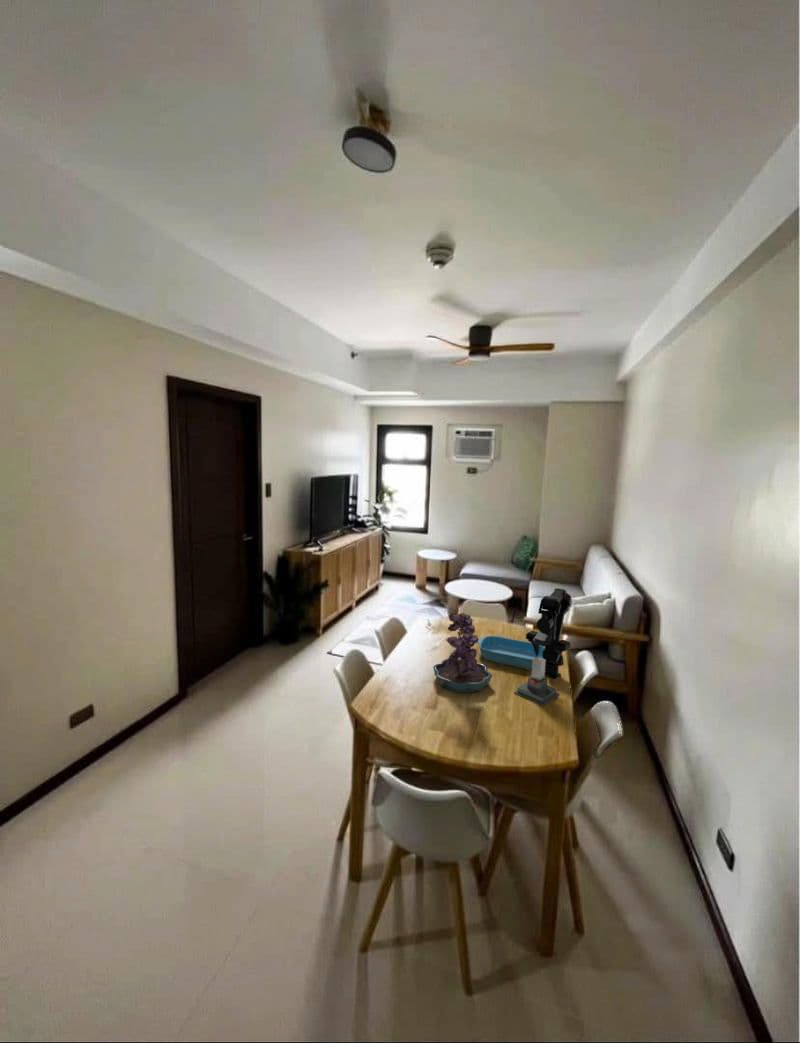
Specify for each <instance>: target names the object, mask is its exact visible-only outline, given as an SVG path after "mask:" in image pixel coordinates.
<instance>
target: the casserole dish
mask: <svg viewBox="0 0 800 1043" xmlns="http://www.w3.org/2000/svg"><path fill="white" fill-rule="evenodd" d="M476 644H477V645H479V649H480V650H479V651H480V654H481V656H482V657H483V658H484V659H485V660H487V661H489V662H493V663H497V664H502V665H506V666H511V667H515V668H520V669H525V670H532V659H534V658H535V657H540V658H542V653H543V650H544V649H545V646H544V647H543V646H541V645H539V652H538V655H537V656H536V654H535V650H534V647H533V645H532V643H531V642H529V641H525V640H519V639H515V638H511V637H510V638H509V637H505V636H498V635H485V637H481V638H478V642H477V643H476Z"/></svg>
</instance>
